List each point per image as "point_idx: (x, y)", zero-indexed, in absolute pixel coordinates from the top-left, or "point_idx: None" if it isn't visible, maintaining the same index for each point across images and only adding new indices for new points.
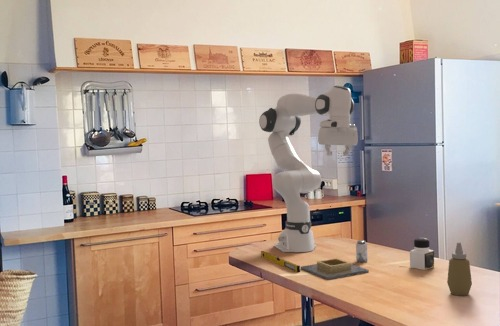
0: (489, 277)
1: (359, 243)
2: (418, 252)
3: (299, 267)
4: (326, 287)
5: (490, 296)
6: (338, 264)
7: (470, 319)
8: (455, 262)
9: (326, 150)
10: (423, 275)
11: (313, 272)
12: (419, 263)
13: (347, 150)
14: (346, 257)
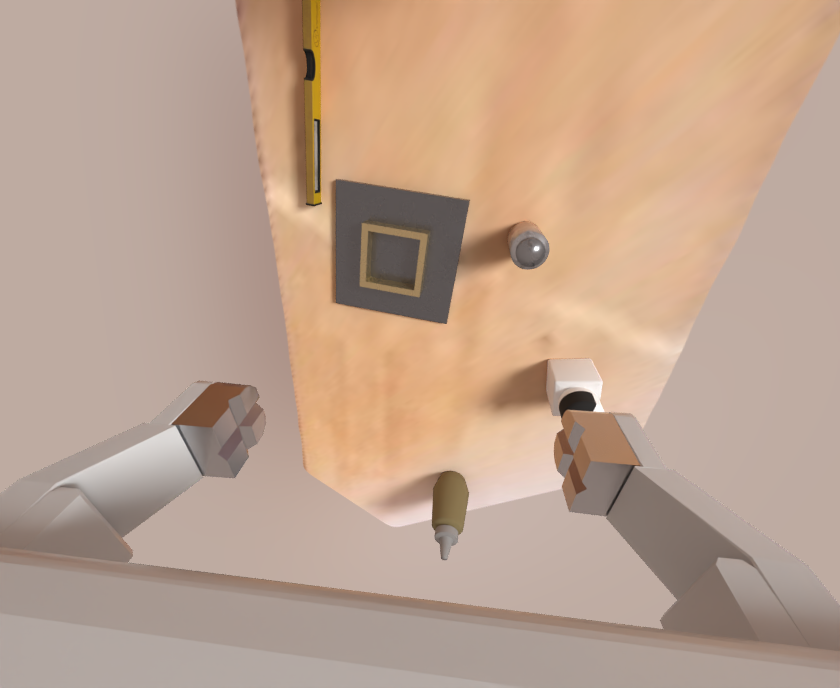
0: None
1: (515, 255)
2: (552, 402)
3: (315, 205)
4: (307, 333)
5: (471, 505)
6: (386, 286)
7: (377, 513)
8: (432, 526)
9: (127, 435)
10: (506, 405)
11: (336, 245)
12: (548, 387)
13: (634, 535)
14: (535, 163)
